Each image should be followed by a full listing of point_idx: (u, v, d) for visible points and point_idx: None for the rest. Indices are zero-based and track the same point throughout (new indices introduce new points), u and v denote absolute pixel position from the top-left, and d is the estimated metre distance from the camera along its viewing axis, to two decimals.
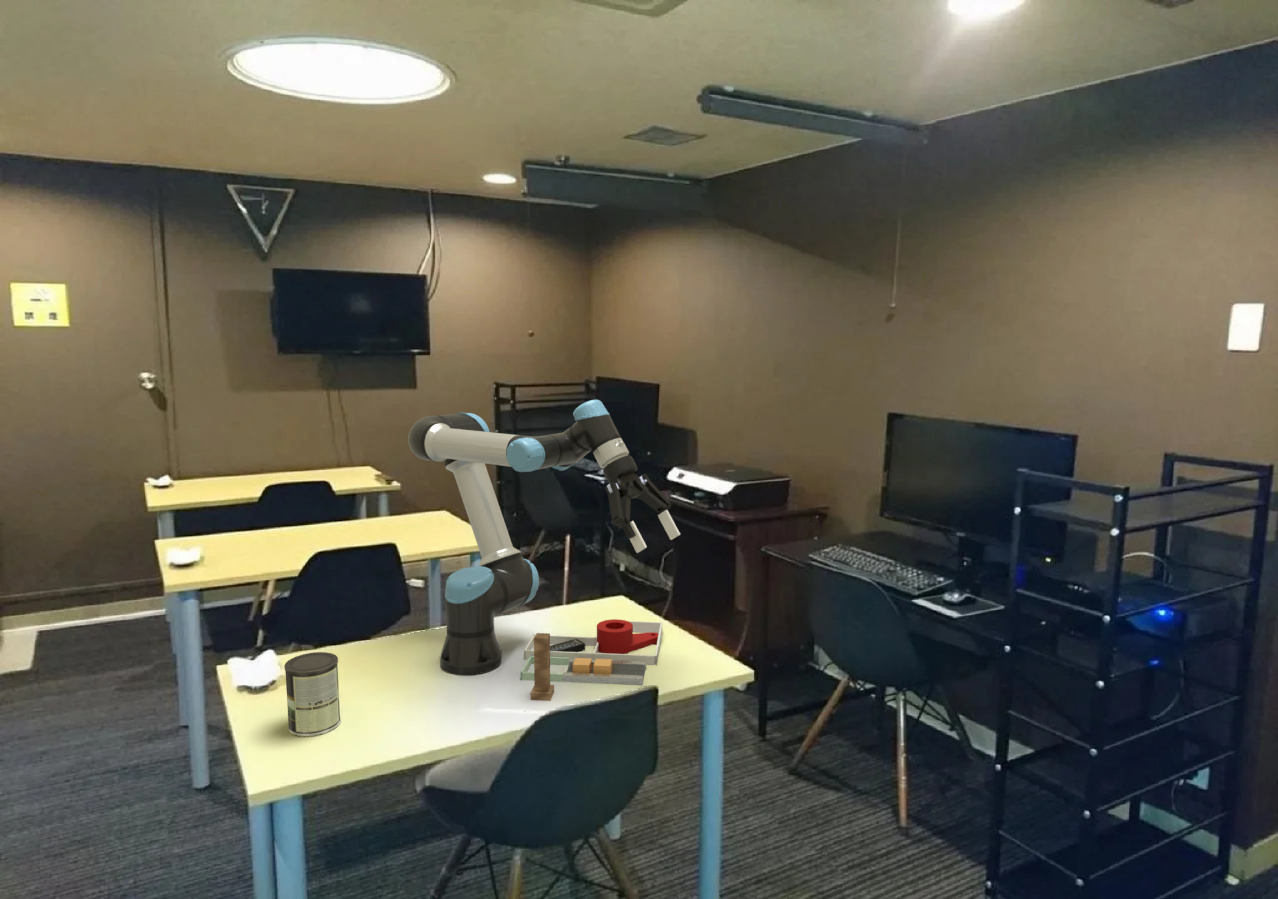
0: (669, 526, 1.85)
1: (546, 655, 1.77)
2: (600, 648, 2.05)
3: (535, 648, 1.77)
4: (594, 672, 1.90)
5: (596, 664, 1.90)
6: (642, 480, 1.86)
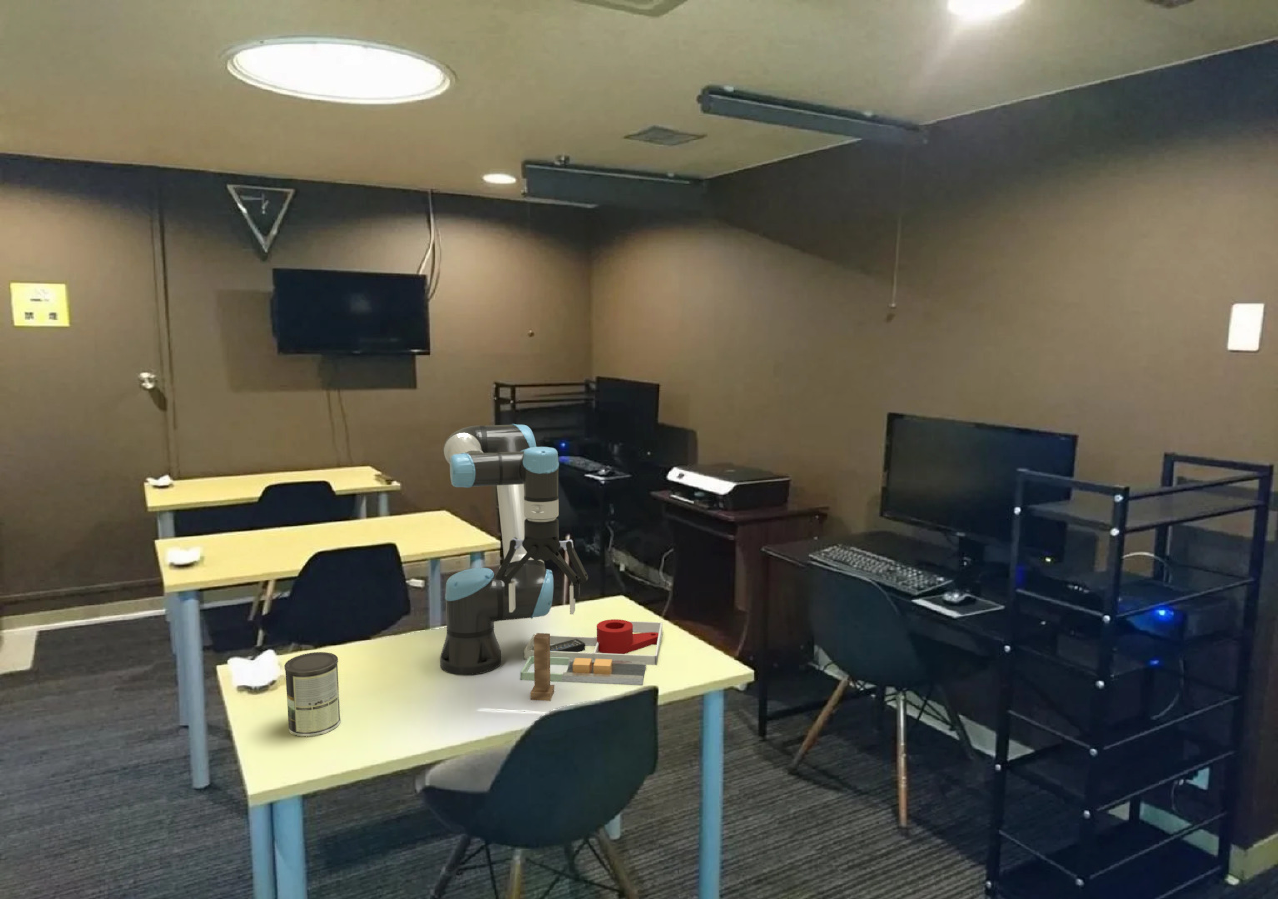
0: None
1: (546, 655, 1.77)
2: (600, 648, 2.05)
3: (535, 648, 1.77)
4: (594, 672, 1.90)
5: (596, 664, 1.90)
6: (564, 546, 1.74)
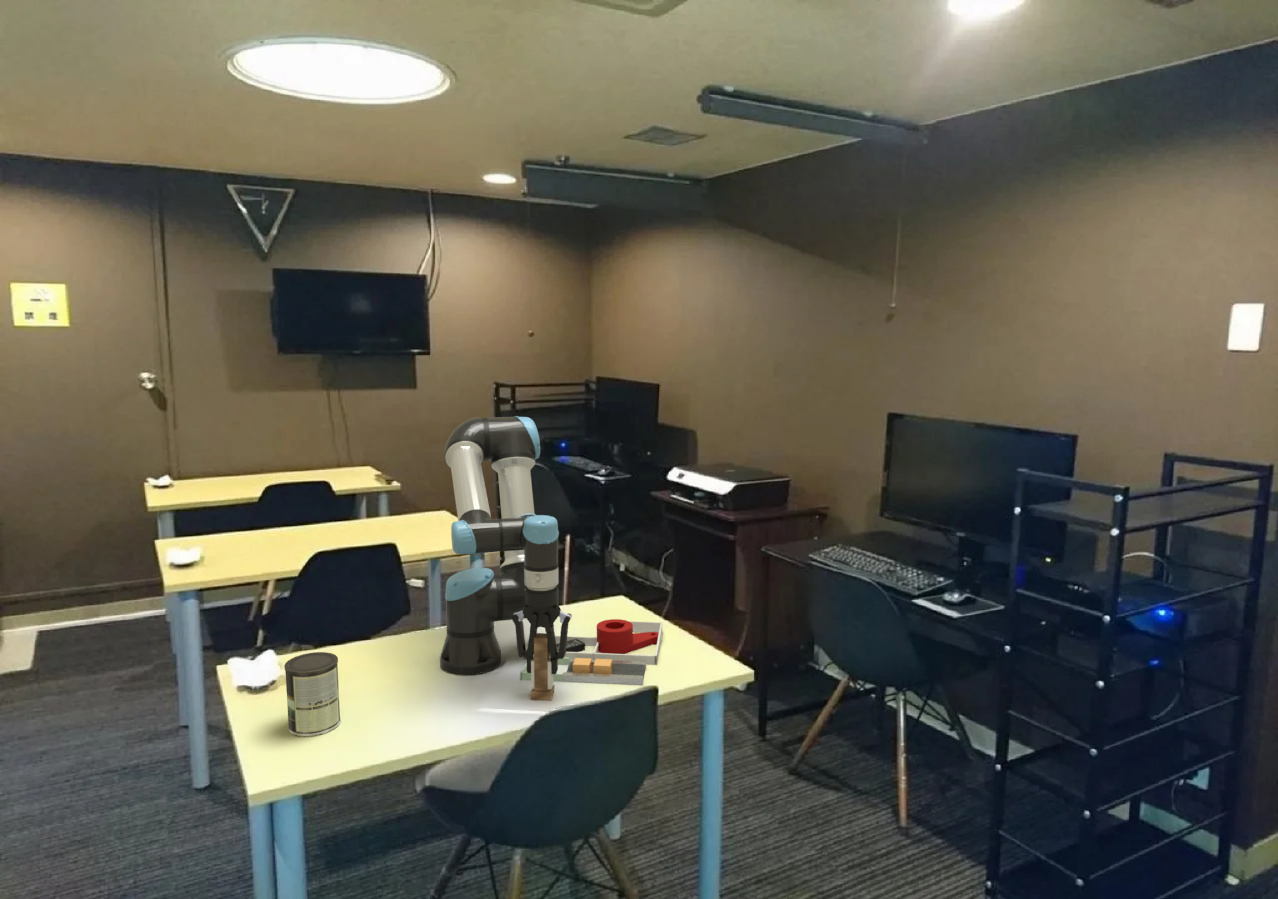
0: None
1: (546, 655, 1.77)
2: (600, 648, 2.05)
3: (535, 648, 1.77)
4: (594, 672, 1.90)
5: (596, 664, 1.90)
6: (562, 618, 1.76)
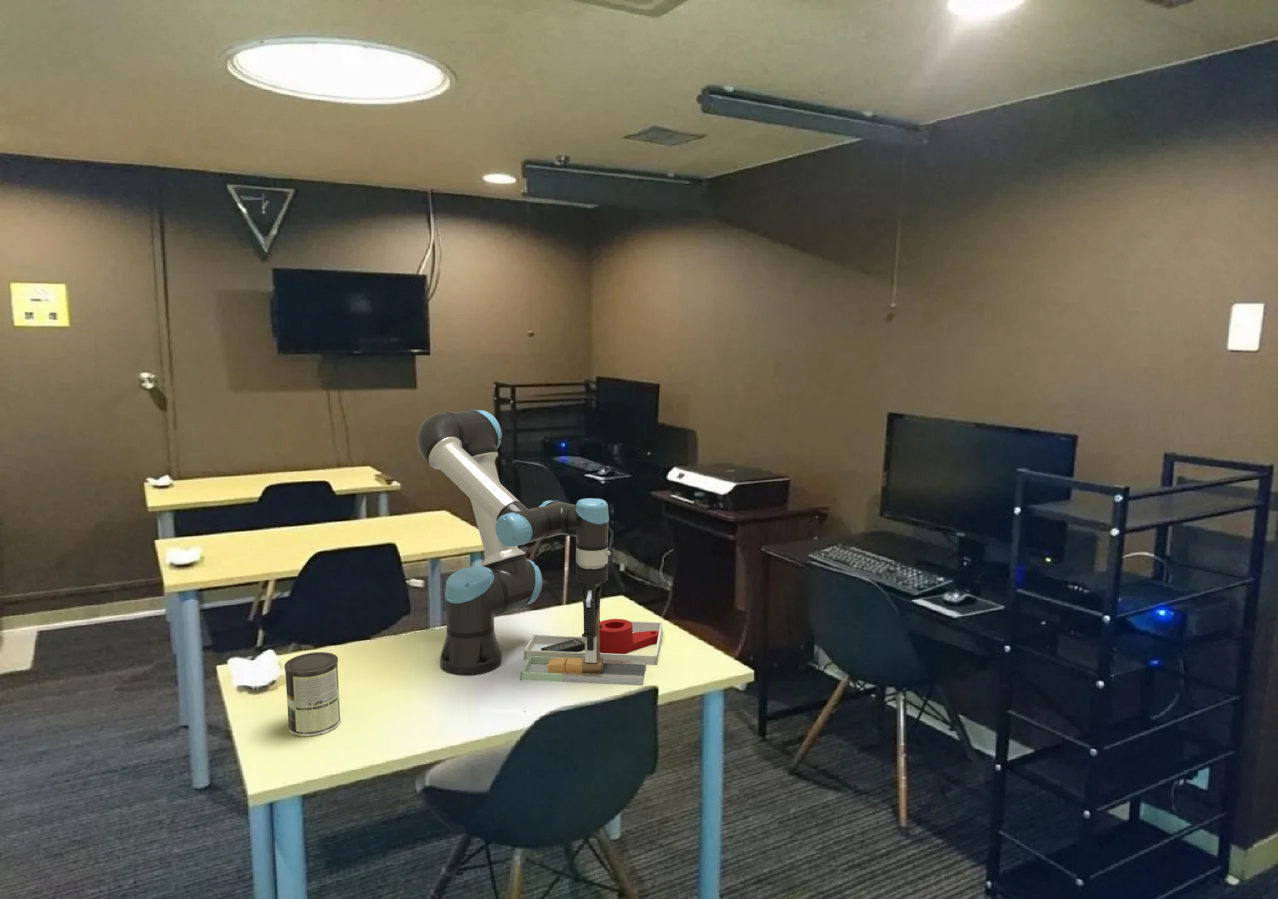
0: None
1: (599, 625, 1.91)
2: (600, 648, 2.05)
3: (598, 622, 1.89)
4: (566, 671, 1.90)
5: (568, 662, 1.91)
6: None
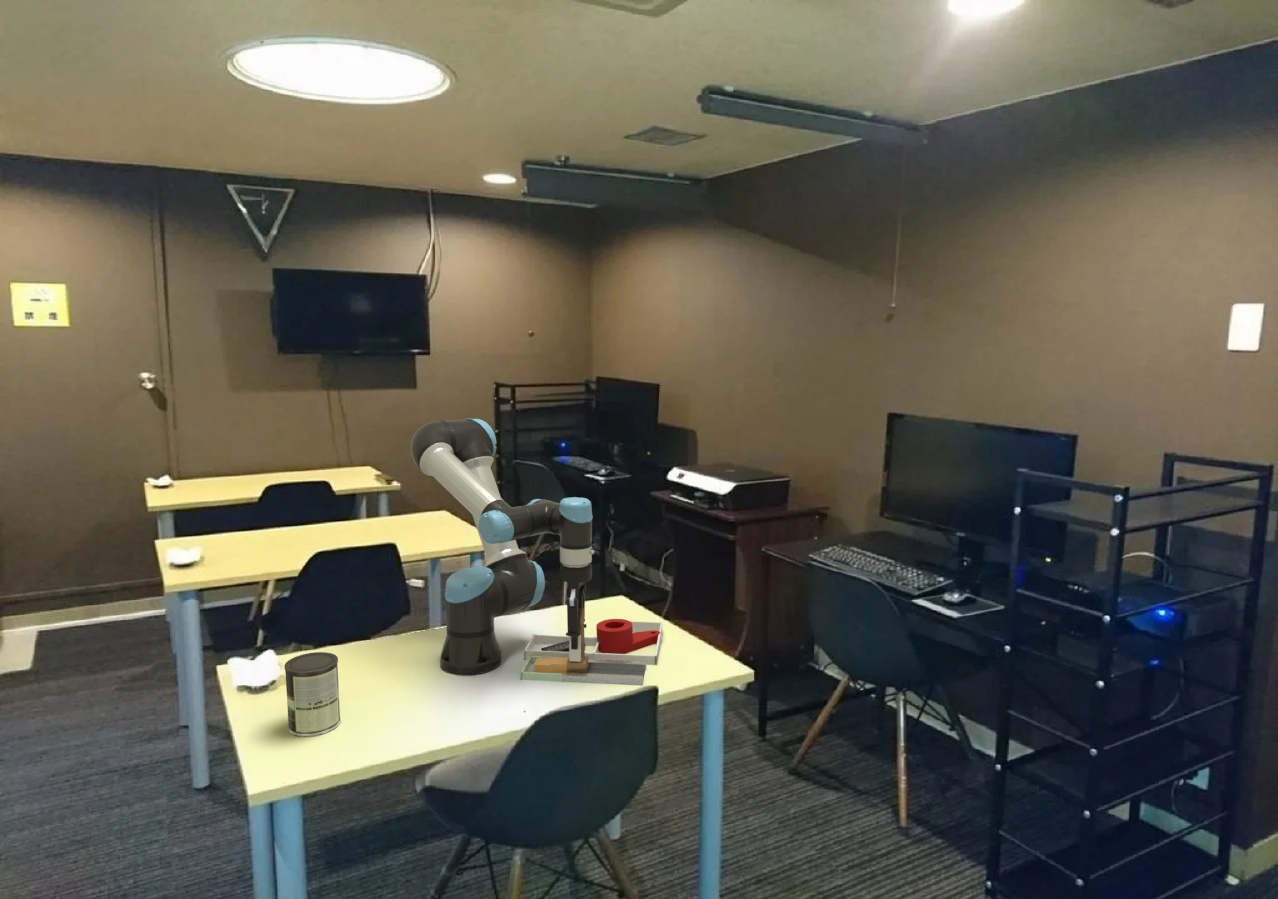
0: None
1: (583, 623, 1.92)
2: (600, 648, 2.05)
3: (582, 621, 1.89)
4: (551, 670, 1.90)
5: (553, 662, 1.91)
6: None
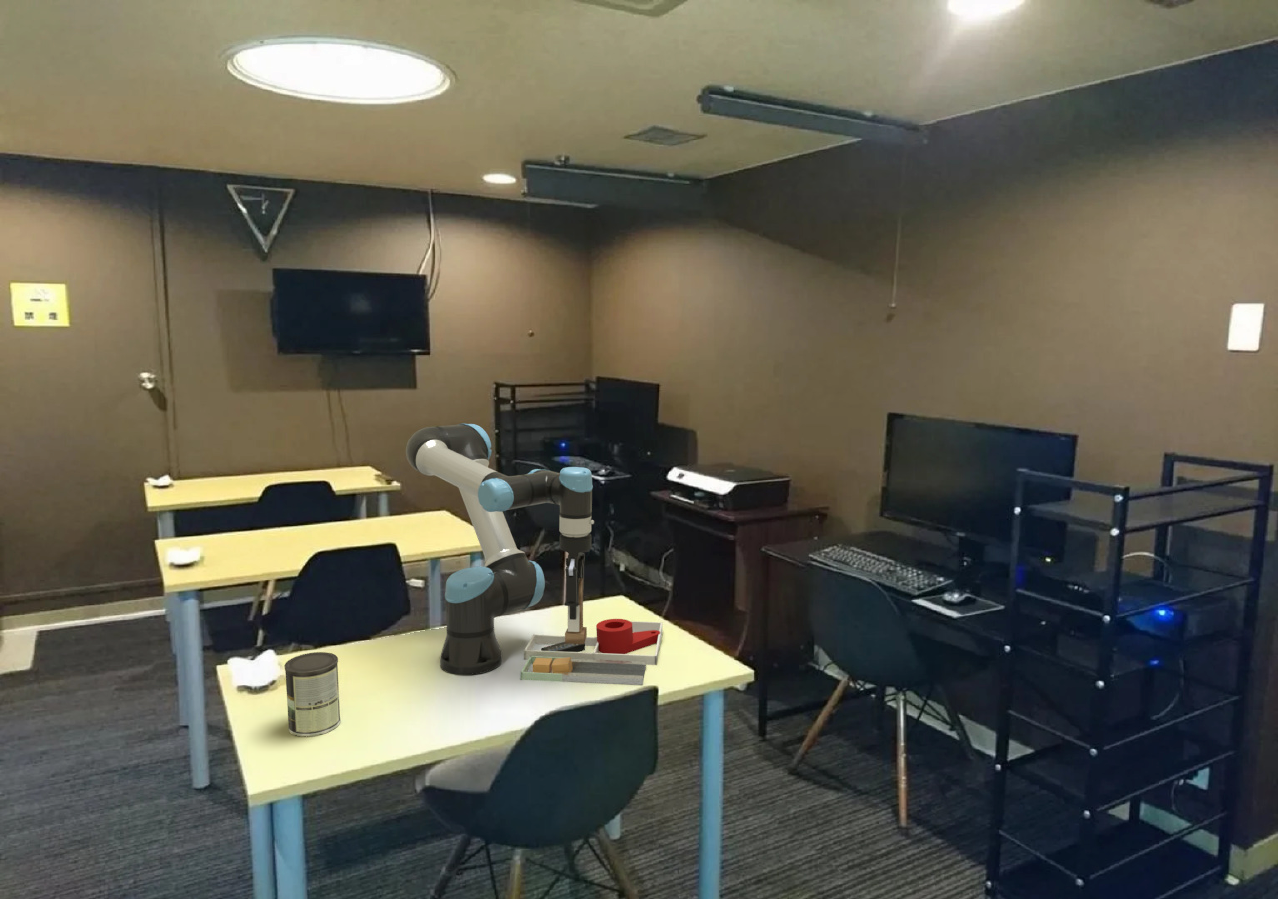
0: None
1: (582, 594, 1.91)
2: (600, 648, 2.05)
3: (581, 591, 1.88)
4: (553, 672, 1.90)
5: (554, 663, 1.91)
6: None
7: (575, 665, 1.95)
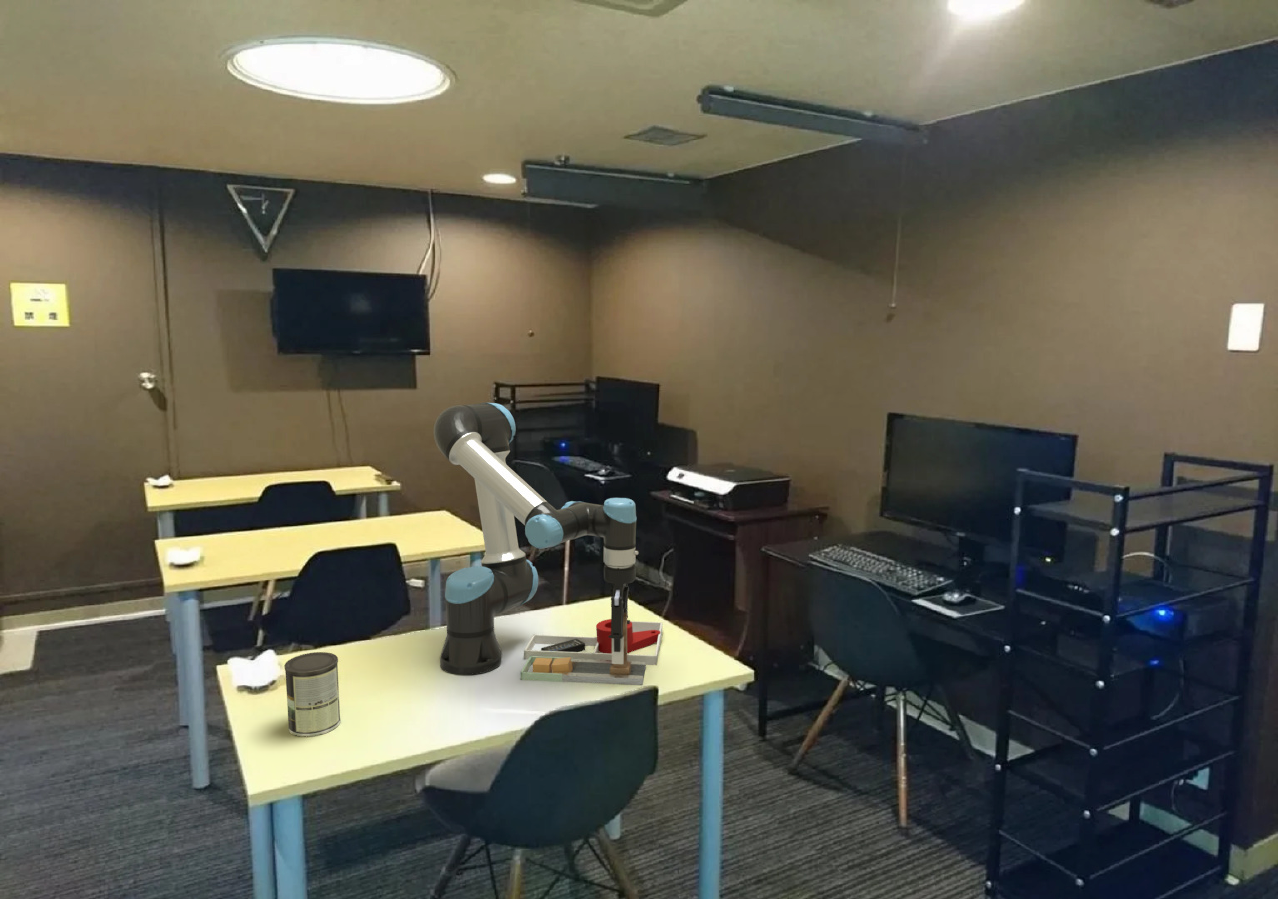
0: None
1: None
2: (600, 648, 2.05)
3: (626, 626, 1.88)
4: (553, 672, 1.90)
5: (554, 663, 1.91)
6: None
7: (575, 665, 1.95)
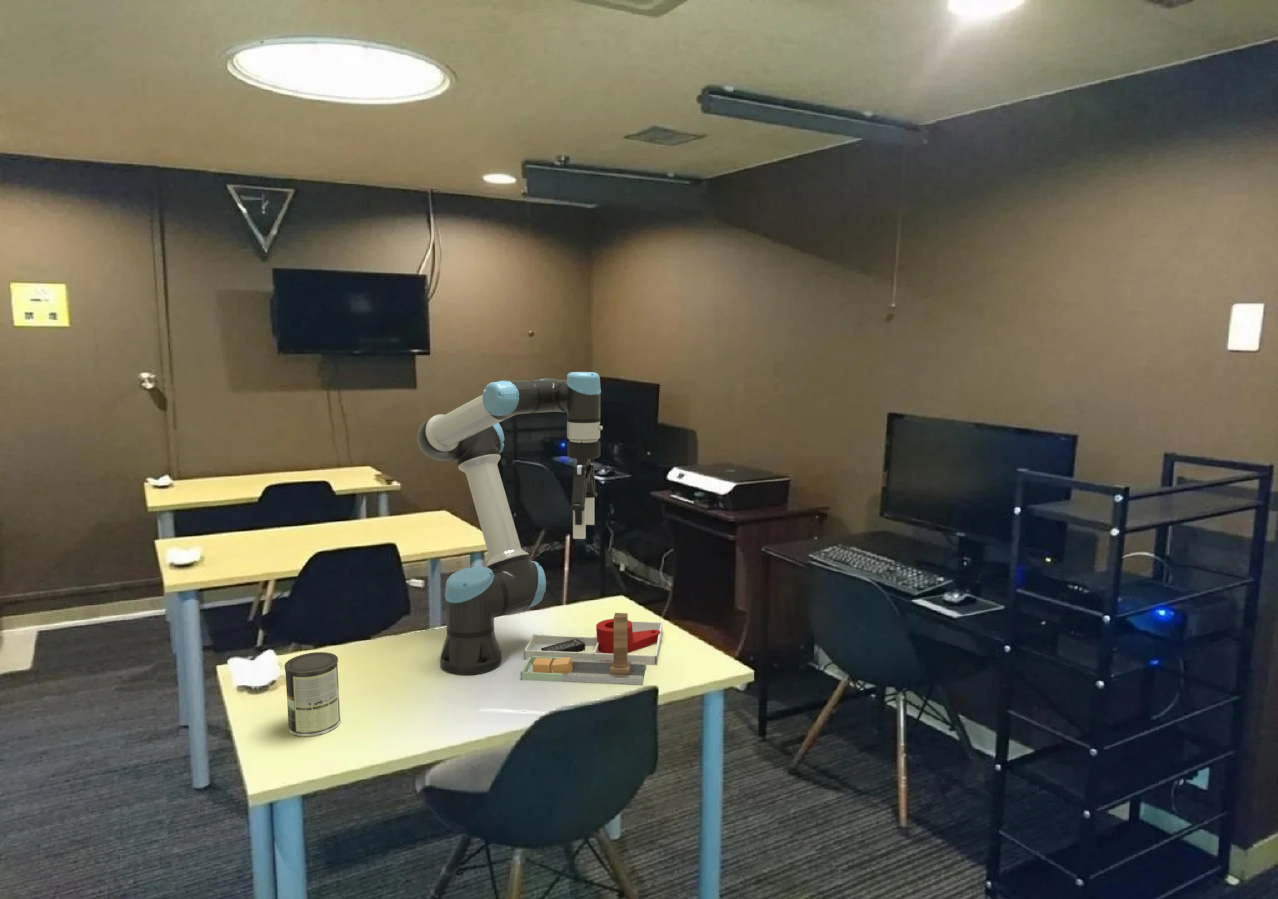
0: (588, 513, 1.90)
1: None
2: (600, 648, 2.05)
3: (626, 626, 1.88)
4: (553, 672, 1.90)
5: (554, 663, 1.91)
6: None
7: (575, 665, 1.95)
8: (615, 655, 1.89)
